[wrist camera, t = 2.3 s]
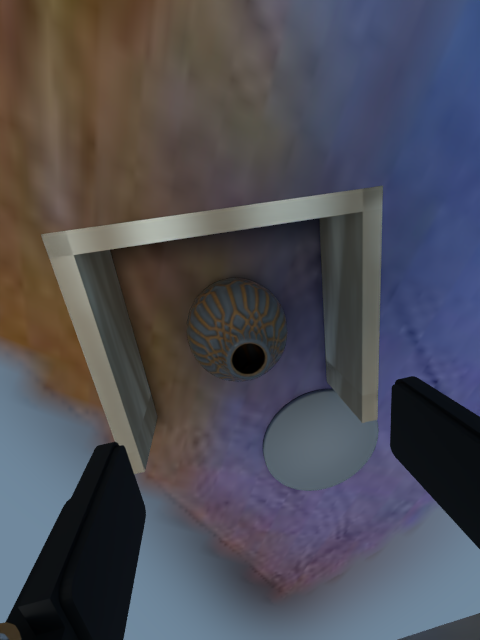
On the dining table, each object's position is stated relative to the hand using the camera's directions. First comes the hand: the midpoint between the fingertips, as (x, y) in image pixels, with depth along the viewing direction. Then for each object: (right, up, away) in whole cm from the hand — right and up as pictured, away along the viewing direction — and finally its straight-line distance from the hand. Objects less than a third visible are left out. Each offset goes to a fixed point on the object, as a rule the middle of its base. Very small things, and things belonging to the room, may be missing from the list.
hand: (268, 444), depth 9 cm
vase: (-2, +5, +14) cm, 15 cm away
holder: (-2, +5, +13) cm, 14 cm away
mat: (+7, -8, +19) cm, 22 cm away
